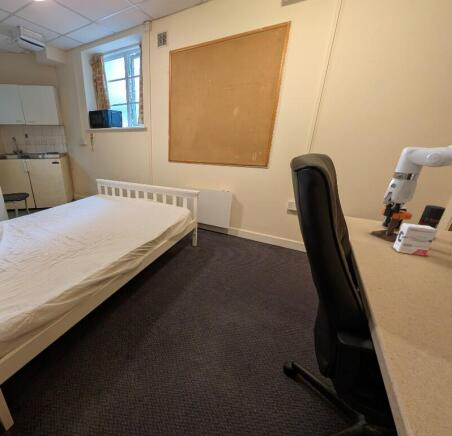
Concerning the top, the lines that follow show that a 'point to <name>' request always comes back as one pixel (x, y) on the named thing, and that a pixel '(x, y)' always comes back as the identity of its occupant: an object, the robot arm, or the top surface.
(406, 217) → the orange ring
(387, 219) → the beverage can
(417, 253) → the ink box
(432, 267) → the top surface
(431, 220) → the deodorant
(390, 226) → the rack
